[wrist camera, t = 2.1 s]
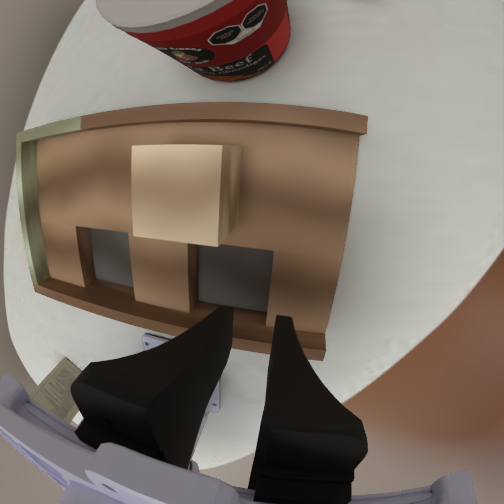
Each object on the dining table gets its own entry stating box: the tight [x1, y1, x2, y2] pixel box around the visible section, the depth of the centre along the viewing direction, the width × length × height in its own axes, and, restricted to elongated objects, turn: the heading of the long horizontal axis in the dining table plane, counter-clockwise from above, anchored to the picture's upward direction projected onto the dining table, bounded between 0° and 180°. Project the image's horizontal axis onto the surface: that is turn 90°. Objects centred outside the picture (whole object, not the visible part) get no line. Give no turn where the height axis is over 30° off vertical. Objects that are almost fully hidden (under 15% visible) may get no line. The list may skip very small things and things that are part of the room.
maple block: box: [131, 144, 243, 247], centre depth 16 cm, size 5×5×4 cm
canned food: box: [96, 0, 290, 81], centre depth 10 cm, size 8×8×11 cm
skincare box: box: [29, 358, 81, 423], centre depth 27 cm, size 6×4×12 cm
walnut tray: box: [16, 102, 368, 361], centre depth 19 cm, size 16×28×4 cm, turn 86°
